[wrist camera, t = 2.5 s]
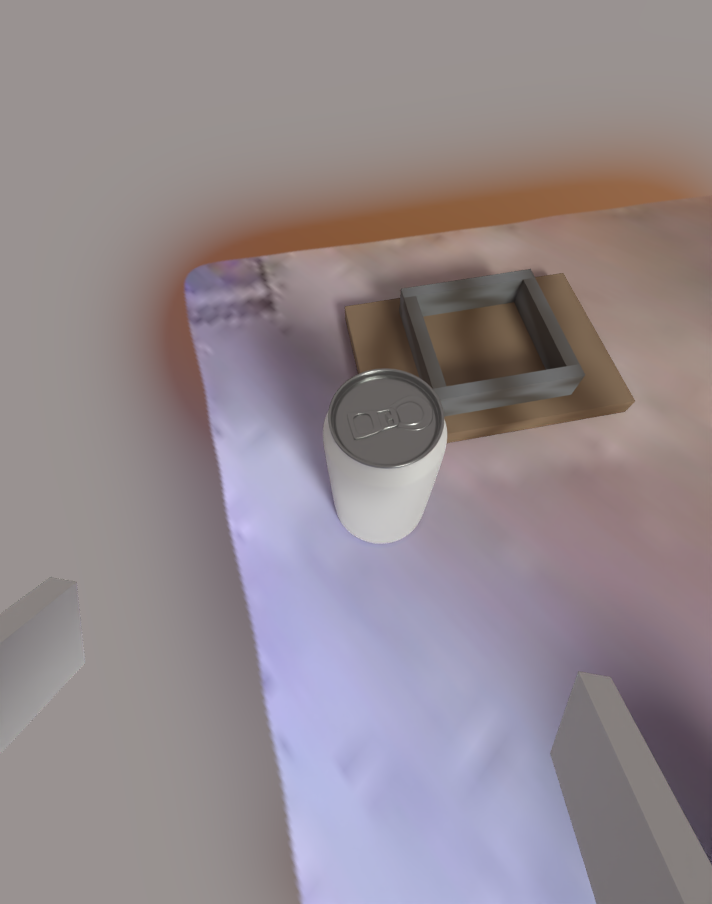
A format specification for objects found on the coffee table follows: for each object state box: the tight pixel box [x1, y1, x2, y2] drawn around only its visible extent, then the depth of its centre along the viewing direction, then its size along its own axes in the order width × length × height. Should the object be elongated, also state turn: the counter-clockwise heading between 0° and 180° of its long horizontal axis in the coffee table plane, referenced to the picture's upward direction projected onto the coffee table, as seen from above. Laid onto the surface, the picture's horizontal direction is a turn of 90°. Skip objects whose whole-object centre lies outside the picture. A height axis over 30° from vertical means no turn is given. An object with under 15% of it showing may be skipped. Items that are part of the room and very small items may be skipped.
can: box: [323, 368, 447, 544], centre depth 27 cm, size 6×6×12 cm
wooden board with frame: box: [345, 269, 635, 443], centre depth 36 cm, size 20×14×4 cm
